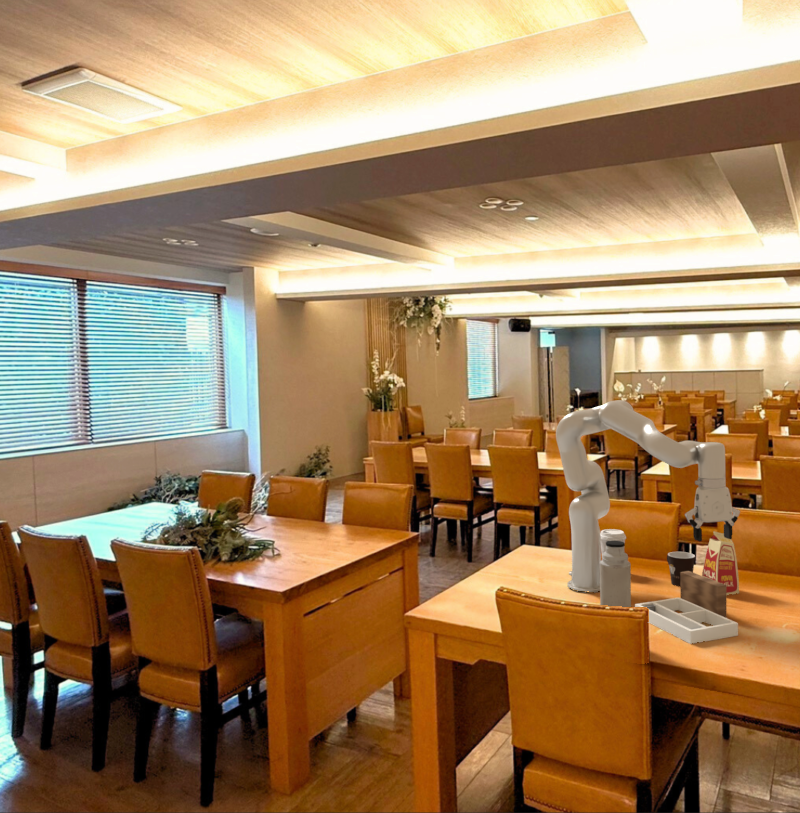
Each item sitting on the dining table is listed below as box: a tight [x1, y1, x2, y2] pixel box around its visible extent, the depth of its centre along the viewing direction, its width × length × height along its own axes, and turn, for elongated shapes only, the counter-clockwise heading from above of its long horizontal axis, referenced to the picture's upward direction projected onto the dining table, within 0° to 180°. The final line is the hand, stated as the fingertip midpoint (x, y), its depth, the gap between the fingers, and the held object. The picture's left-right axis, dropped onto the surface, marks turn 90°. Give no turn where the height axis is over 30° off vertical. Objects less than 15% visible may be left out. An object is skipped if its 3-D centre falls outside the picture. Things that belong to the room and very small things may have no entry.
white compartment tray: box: [634, 596, 739, 645], centre depth 212 cm, size 24×16×4 cm, turn 19°
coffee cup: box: [600, 528, 627, 560], centre depth 264 cm, size 10×10×15 cm
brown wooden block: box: [679, 571, 727, 618], centre depth 223 cm, size 16×3×10 cm, turn 19°
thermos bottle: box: [599, 541, 632, 608], centre depth 199 cm, size 8×8×28 cm
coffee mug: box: [666, 551, 696, 587], centre depth 251 cm, size 12×9×10 cm
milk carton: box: [701, 530, 740, 596], centre depth 241 cm, size 9×9×20 cm
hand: (713, 539), depth 222 cm, fingers open, 9 cm apart
